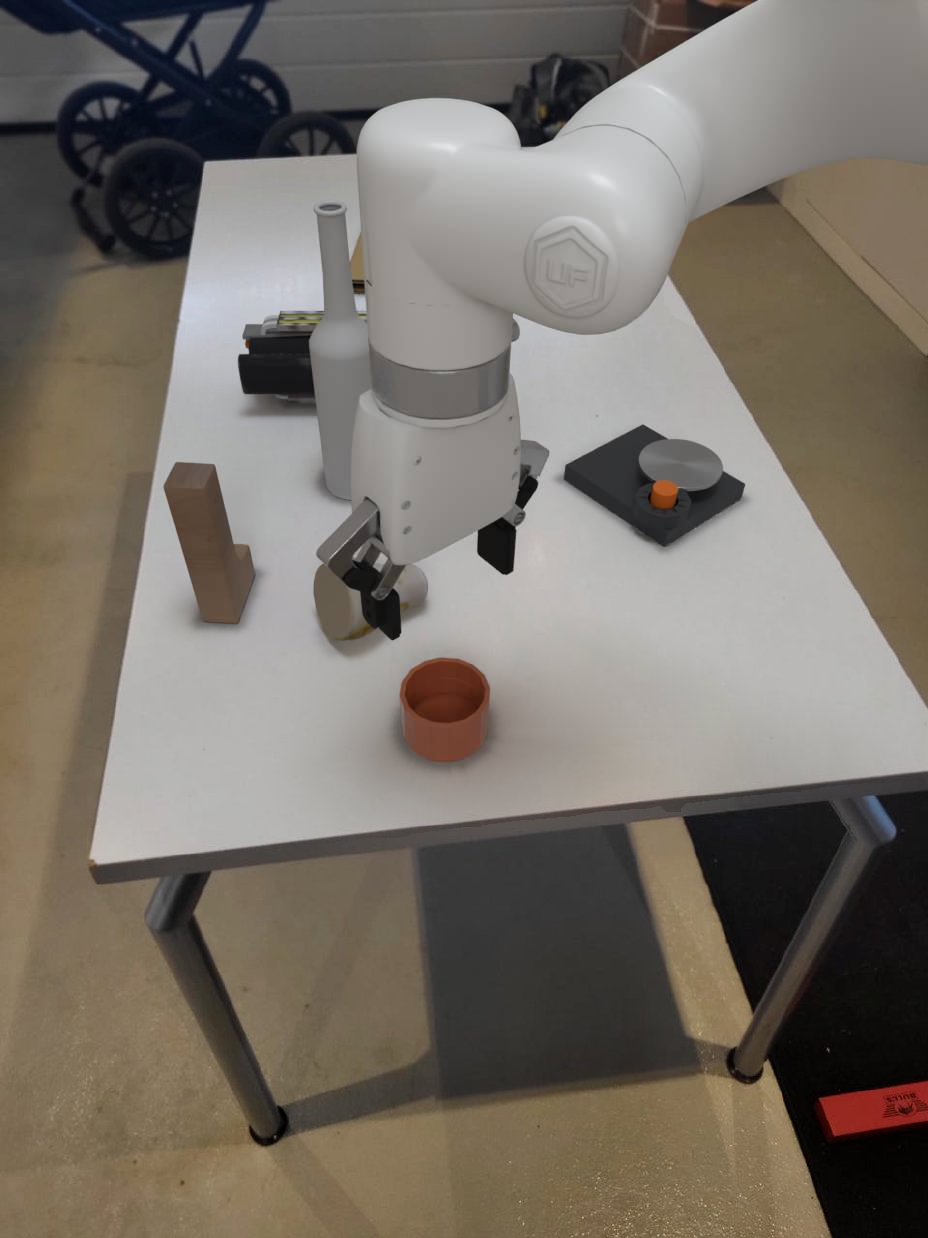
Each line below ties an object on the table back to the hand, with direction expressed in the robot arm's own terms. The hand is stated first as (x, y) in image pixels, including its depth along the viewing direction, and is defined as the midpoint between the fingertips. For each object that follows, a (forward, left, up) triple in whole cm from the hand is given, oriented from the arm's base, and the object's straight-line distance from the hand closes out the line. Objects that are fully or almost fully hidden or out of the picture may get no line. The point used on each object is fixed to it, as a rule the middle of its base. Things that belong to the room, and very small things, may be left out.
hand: (441, 593), depth 60 cm
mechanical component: (+44, -23, -15) cm, 52 cm away
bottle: (+31, -13, -15) cm, 37 cm away
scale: (+10, -36, -15) cm, 40 cm away
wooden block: (+24, +6, -15) cm, 29 cm away
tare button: (+6, -32, -12) cm, 35 cm away
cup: (0, 0, -15) cm, 15 cm away
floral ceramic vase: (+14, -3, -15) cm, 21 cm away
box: (+69, -50, -15) cm, 86 cm away
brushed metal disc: (+8, -37, -11) cm, 40 cm away
